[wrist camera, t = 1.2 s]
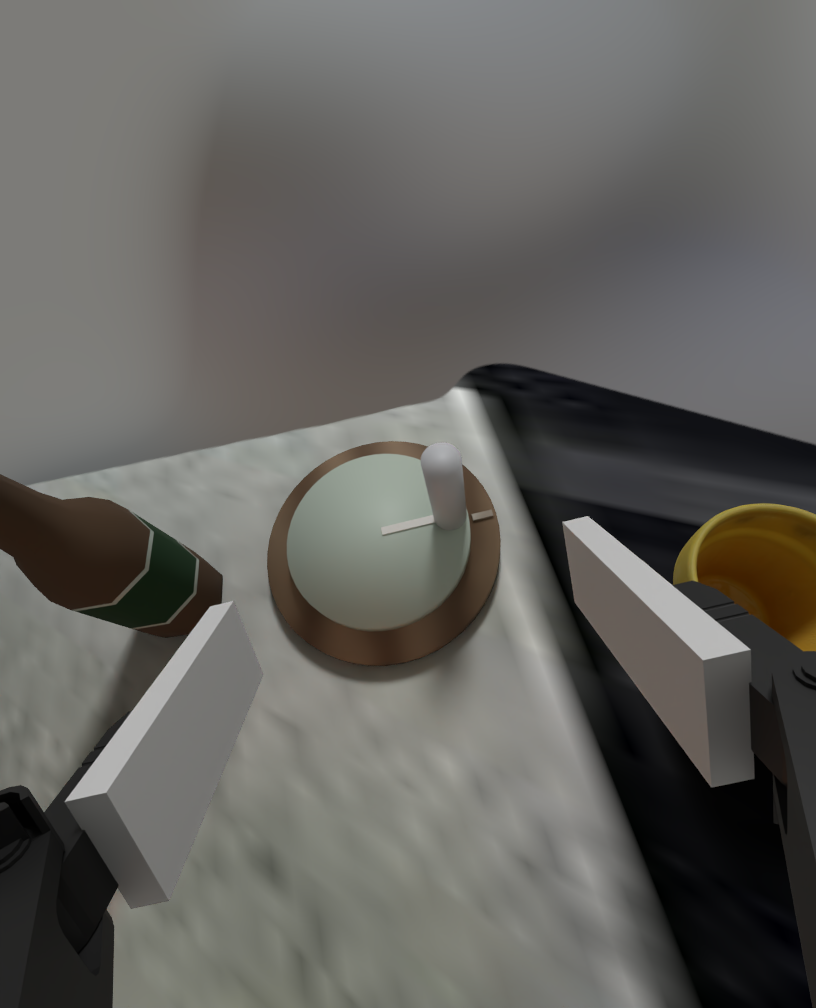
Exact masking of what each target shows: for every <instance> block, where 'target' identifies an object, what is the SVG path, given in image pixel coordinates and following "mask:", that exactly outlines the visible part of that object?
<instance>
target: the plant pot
mask: <svg viewBox="0 0 816 1008" xmlns="http://www.w3.org/2000/svg"><path fill="white" fill-rule="evenodd" d="M688 581H696V582H699V583H702V584H704V585H707V586H710V587H713V588H715V589H717V590H719V591H720V592H722V593H723V594H724V595H726V596H727V597H729V598H730V599H731V600H733V601H734V603H735V604H738V605H740V606H741V607H742V608H744V609H745V610H747V611H748V613H749V614H750V615H751V614H752V615H754V616H755V617H756V618H758V619H759V620H761V621H762V622H763V623H765V624H766V625H768V626H769V627H770V628H772V629H773V630H775V631H776V632H777V633H779V634H780V635H781V636H783V637H784V638H786V639H787V640H788V641H790V642H791V643H793V644H794V645H795V646H797V647H798V648H800V649H801V650H802V651H816V515H815V514H813V513H810V512H808V511H805V510H802V509H798V508H794V507H790V506H785V505H777V504H749V505H743V506H739V507H735V508H732V509H729V510H726V511H724V512H721V513H719V514H718V515H716V516H714V517H713V518H711V519H710V520H709V521H708V522H706V523H705V524H704V525H703V526H702V527H701V528H700V529H699V530H698V531H697V532H696V533H695V534H694V535H693V536H692V537H691V538H690V540H689V541H688V542H687V543H686V545H685V546H684V547H683V549H682V551H681V552H680V554H679V556H678V558H677V561H676V564H675V568H674V575H673V585H675V584H680V583H684V582H688Z"/></svg>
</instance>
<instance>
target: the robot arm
mask: <svg viewBox="0 0 816 1008" xmlns="http://www.w3.org/2000/svg"><path fill="white" fill-rule="evenodd" d="M562 523H563V530H564V536H565V542H566V549H567V555H568V562H569V568H570V574H571V581H572V587H573V593H574V600H575V603H576V604H577V606H578V607H579V609H580V610H581V611H582V613H583V614H584V615H585V617H586V618H587V619H588V621H589V622H590V623H591V625H592V626H593V628H594V629H595V630H596V632H597V633H598V634H599V636H600V637H601V638H602V640H603V641H604V642H605V644H606V645H607V647H608V648H609V649H610V651H611V652H612V653H613V655H614V656H615V657H616V659H617V660H618V661H619V663H620V664H621V666H622V667H623V668H624V670H625V671H626V672H627V674H628V675H629V676H630V678H631V679H632V681H633V682H634V683H635V685H636V686H637V687H638V689H639V690H640V691H641V693H642V694H643V695H644V697H645V698H646V700H647V701H648V702H649V704H650V705H651V706H652V708H653V709H654V710H655V712H656V713H657V714H658V716H659V717H660V719H661V720H662V721H663V723H664V724H665V725H666V727H667V728H668V729H669V731H670V732H671V733H672V735H673V736H674V738H675V739H676V740H677V742H678V743H679V744H680V746H681V747H682V748H683V750H684V751H685V752H686V754H687V755H688V757H689V758H690V759H691V761H692V762H693V763H694V765H695V766H696V767H697V769H698V770H699V771H700V773H701V774H702V776H703V777H704V778H705V780H706V781H707V782H708V784H709V785H710V786H711V788H712V787H717V786H722V785H726V784H731V783H736V782H741V781H746V780H750V779H755V778H754V753H755V754H756V755H757V757H758V758H759V759H760V760H761V761H762V762H763V763H764V764H765V765H766V766H767V768H768V769H769V770H770V771H771V772H772V773H773V817H774V823H775V824H779V825H780V831H781V836H782V842H783V847H784V853H785V858H786V864H787V869H788V875H789V880H790V886H791V891H792V897H793V902H794V908H795V913H796V919H797V924H798V930H799V935H800V941H801V946H802V952H803V957H804V963H805V968H806V973H807V979H808V984H809V990H810V995H811V1001H812V1006H813V1008H816V651H802V650H801V649H800V648H798V647H797V646H795V645H794V644H793V643H791V642H790V641H788V640H787V639H786V638H784V637H783V636H781V635H780V634H779V633H777V632H776V631H775V630H773V629H772V628H770V627H769V626H768V625H766V624H765V623H763V622H762V621H761V620H759V619H758V618H756V617H755V616H754V615H752V614H751V615H750V614H749V613H748V611H747V610H745V609H744V608H742V607H741V606H740V605H738V604H735V603H734V601H733V600H731V599H730V598H729V597H727V596H726V595H724V594H723V593H722V592H720V591H719V590H717V589H715V588H713V587H710V586H707V585H704V584H702V583H699V582H696V581H688V582H684V583H680V584H675V585H671V584H670V583H669V582H668V581H666V580H665V579H664V578H663V577H662V576H660V575H659V574H658V573H657V572H655V571H654V570H653V569H652V568H651V567H649V566H648V565H647V564H646V563H644V562H643V561H642V560H641V559H640V558H638V557H637V556H636V555H635V554H633V553H632V552H631V551H630V550H629V549H627V548H626V547H625V546H624V545H622V544H621V543H620V542H619V541H618V540H616V539H615V538H614V537H613V536H611V535H610V534H609V533H608V532H607V531H605V530H604V529H603V528H602V527H600V526H599V525H598V524H597V523H596V522H594V521H593V520H592V519H591V518H589V517H588V516H586V517H582V518H578V519H574V520H570V521H565V522H562ZM262 677H263V672H262V669H261V667H260V664H259V662H258V659H257V657H256V654H255V652H254V649H253V647H252V645H251V642H250V640H249V637H248V635H247V632H246V630H245V627H244V625H243V622H242V620H241V617H240V615H239V613H238V610H237V608H236V605H235V603H234V601H231V602H227V603H223V604H218V605H214V606H210V607H209V609H208V610H207V611H206V613H205V614H204V615H203V617H202V618H201V619H200V621H199V622H198V623H197V625H196V626H195V627H194V629H193V630H192V631H191V633H190V634H189V635H188V637H187V638H186V639H185V641H184V642H183V643H182V645H181V646H180V647H179V649H178V650H177V651H176V653H175V654H174V656H173V657H172V658H171V660H170V661H169V662H168V664H167V665H166V666H165V668H164V669H163V670H162V672H161V673H160V674H159V676H158V677H157V678H156V680H155V681H154V682H153V684H152V685H151V686H150V688H149V689H148V690H147V692H146V693H145V694H144V696H143V697H142V698H141V700H140V701H139V702H138V704H137V705H136V706H135V708H134V709H133V711H130V712H128V713H127V714H125V715H124V716H123V717H122V718H121V719H120V720H119V721H117V722H116V723H115V724H114V725H113V726H112V727H111V728H109V729H108V731H107V732H106V733H105V734H104V736H103V737H102V738H101V740H100V741H99V742H98V744H97V745H96V746H95V747H94V751H93V752H91V753H90V754H89V755H88V756H87V758H86V759H85V760H84V762H83V763H82V767H80V768H78V769H77V771H76V772H75V773H74V775H73V776H72V777H71V778H70V780H69V781H68V782H67V784H66V785H65V786H64V788H63V789H62V790H61V791H60V793H59V794H58V795H57V797H56V798H55V799H54V800H53V802H52V803H51V804H50V806H49V807H48V808H47V810H46V811H45V812H43V811H42V809H41V808H40V806H39V804H38V803H37V801H36V800H35V798H34V797H33V795H32V794H31V792H30V791H29V789H28V788H26V787H24V786H21V785H20V786H15V787H9V788H6V789H4V790H1V791H0V1008H112V1003H113V958H114V925H113V921H112V917H111V916H110V914H109V913H108V911H107V910H106V909H107V907H108V905H109V903H110V901H111V899H112V897H113V895H114V893H115V891H116V889H117V888H118V889H119V890H120V892H121V894H122V895H123V897H124V898H125V900H126V902H127V903H128V905H129V906H130V908H131V909H132V908H137V907H142V906H147V905H151V904H156V903H161V902H166V901H169V900H170V897H171V895H172V893H173V890H174V888H175V885H176V883H177V881H178V878H179V876H180V873H181V871H182V869H183V866H184V864H185V861H186V859H187V857H188V854H189V852H190V849H191V847H192V845H193V842H194V840H195V837H196V835H197V833H198V830H199V828H200V825H201V823H202V821H203V818H204V816H205V813H206V811H207V809H208V806H209V804H210V801H211V799H212V797H213V794H214V792H215V789H216V787H217V785H218V782H219V780H220V777H221V775H222V773H223V770H224V768H225V765H226V763H227V761H228V758H229V756H230V753H231V751H232V749H233V746H234V744H235V741H236V739H237V737H238V734H239V732H240V729H241V727H242V725H243V722H244V720H245V717H246V715H247V713H248V710H249V708H250V705H251V703H252V701H253V698H254V696H255V693H256V691H257V689H258V686H259V684H260V681H261V679H262Z"/></svg>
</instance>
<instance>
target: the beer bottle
mask: <svg viewBox="0 0 816 1008" xmlns="http://www.w3.org/2000/svg"><path fill="white" fill-rule="evenodd" d="M0 549H1V550H3V551H5V552H6V553H8V554H9V555H11V556H12V557H14V560H15V562H16V565H17V566H18V567H19V568H20V570H21V571H22V572H23V573H24V574H25V575H26V577H27V578H28V579H29V580H30V581H31V583H32V584H33V585H34V586H35V587H36V588H37V589H38V590H39V591H40V592H41V593H42V594H43V595H44V596H45V597H46V598H47V599H48V600H50V601H51V602H53V603H56V604H58V605H60V606H63V607H65V608H67V609H70V610H73V611H76V612H79V613H82V614H86V615H89V616H92V617H95V618H99V619H102V620H105V621H109V622H112V623H115V624H118V625H122V626H125V627H128V628H131V629H135V630H138V631H141V632H144V633H148V634H151V635H155V636H160V637H165V638H167V637H173V636H179V635H185V634H190V633H191V631H192V630H193V629H194V627H195V626H196V625H197V623H198V622H199V621H200V619H201V618H202V617H203V615H204V614H205V613H206V611H207V610H208V609H209V607H210V606H214V605H218V604H221V594H222V575H221V574H220V573H219V572H218V571H217V570H215V569H214V568H213V567H212V566H211V565H210V564H209V563H208V562H206V561H205V560H204V559H203V558H202V557H200V556H199V555H198V554H196V553H195V552H194V551H192V550H191V549H189V548H188V547H186V546H185V545H183V544H181V543H180V542H178V541H177V540H175V539H174V538H172V537H170V536H169V535H167V534H166V533H164V532H163V531H161V530H159V529H158V528H156V527H155V526H153V525H152V524H150V523H148V522H147V521H145V520H144V519H142V518H140V517H139V516H137V515H136V514H134V513H133V512H131V511H129V510H128V509H126V508H124V507H122V506H120V505H118V504H116V503H114V502H112V501H110V500H105V499H98V498H92V497H85V498H76V499H66V500H61V499H58V498H55V497H52V496H49V495H46V494H42V493H39V492H37V491H35V490H33V489H31V488H29V487H26V486H24V485H22V484H19V483H18V482H16V481H14V480H11V479H9V478H7V477H5V476H3V475H0Z"/></svg>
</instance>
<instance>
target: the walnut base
mask: <svg viewBox="0 0 816 1008" xmlns="http://www.w3.org/2000/svg"><path fill="white" fill-rule="evenodd" d="M427 447H428V446H424V445H420V444H415V443H409V442H393V441H389V442H377V443H372V444H367V445H362V446H359V447H356V448H352V449H349V450H347V451H345V452H342V453H340V454H338V455H336V456H334V457H332V458H331V459H329V460H327V461H325V462H324V463H322V464H321V465H320V466H318V467H317V468H315V469H314V470H313V471H312V472H311V473H309V474H308V475H307V476H306V477H305V478H304V479H303V480H302V481H301V482H300V483H299V484H298V485H297V486H296V487H295V489H294V490H293V491H292V493H291V494H290V495H289V497H288V498H287V499H286V501H285V503H284V504H283V506H282V508H281V510H280V512H279V514H278V516H277V518H276V521H275V523H274V526H273V529H272V533H271V536H270V540H269V547H268V557H267V569H268V577H269V583H270V587H271V591H272V595H273V597H274V599H275V602H276V604H277V606H278V609H279V610H280V612H281V614H282V615H283V617H284V618H285V620H286V622H287V623H288V624H289V625H290V626H291V627H292V629H293V630H294V631H295V632H296V633H297V634H298V635H299V636H300V637H302V638H303V639H304V640H305V641H306V642H307V643H309V644H310V645H312V646H314V647H315V648H317V649H318V650H320V651H322V652H324V653H326V654H328V655H330V656H332V657H335V658H337V659H339V660H343V661H346V662H350V663H353V664H360V665H368V666H388V665H395V664H401V663H406V662H409V661H413V660H416V659H419V658H422V657H424V656H426V655H428V654H431V653H433V652H435V651H437V650H438V649H440V648H442V647H443V646H445V645H446V644H448V643H450V642H451V641H452V640H453V639H455V638H456V637H457V636H458V635H459V634H461V633H462V632H463V631H464V630H465V629H466V628H467V627H468V626H469V625H470V623H471V622H472V621H473V620H474V619H475V618H476V616H477V615H478V613H479V612H480V610H481V609H482V608H483V606H484V604H485V602H486V601H487V599H488V597H489V595H490V593H491V590H492V588H493V585H494V582H495V579H496V576H497V571H498V566H499V559H500V531H499V524H498V520H497V516H496V512H495V509H494V507H493V504H492V502H491V499H490V498H489V496H488V494H487V492H486V491H485V489H484V487H483V486H482V485H481V483H480V482H479V481H478V479H477V478H476V477H475V476H474V475H473V474H472V473H471V472H470V471H469V470H468V469H467V468H466V467H465V466H464V465H462V468H463V479H464V490H465V501H466V509H467V512H468V517H469V522H470V534H471V545H470V554H469V559H468V563H467V566H466V569H465V571H464V574H463V576H462V578H461V580H460V582H459V583H458V585H457V587H456V588H455V590H454V591H453V592H452V594H451V595H450V596H449V597H448V598H447V600H446V601H445V602H444V603H443V604H442V605H441V606H439V607H438V608H437V609H436V610H435V611H433V612H432V613H431V614H429V615H428V616H426V617H424V618H423V619H421V620H419V621H417V622H415V623H412V624H410V625H408V626H405V627H401V628H398V629H394V630H387V631H371V632H370V631H362V630H356V629H352V628H348V627H345V626H343V625H340V624H338V623H335V622H334V621H332V620H330V619H329V618H327V617H325V616H324V615H323V614H321V613H320V612H319V611H318V610H316V609H315V608H314V607H313V606H311V605H310V604H309V603H308V601H307V600H306V599H305V598H304V597H303V596H302V594H301V593H300V591H299V590H298V588H297V587H296V585H295V583H294V580H293V578H292V576H291V573H290V569H289V566H288V559H287V538H288V531H289V527H290V524H291V520H292V518H293V515H294V513H295V511H296V509H297V507H298V505H299V503H300V502H301V500H302V499H303V497H304V496H305V494H306V493H307V492H308V491H309V490H310V488H311V487H312V486H313V485H314V484H315V483H316V482H317V481H318V480H320V479H321V478H322V477H323V476H324V475H326V474H327V473H328V472H330V471H331V470H333V469H335V468H336V467H338V466H340V465H342V464H344V463H346V462H349V461H351V460H354V459H357V458H360V457H364V456H369V455H374V454H399V455H405V456H409V457H413V458H416V459H419V460H421V456H422V453H423V452H424V450H425V449H426V448H427Z"/></svg>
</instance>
